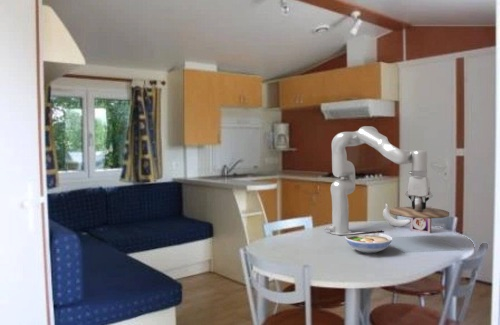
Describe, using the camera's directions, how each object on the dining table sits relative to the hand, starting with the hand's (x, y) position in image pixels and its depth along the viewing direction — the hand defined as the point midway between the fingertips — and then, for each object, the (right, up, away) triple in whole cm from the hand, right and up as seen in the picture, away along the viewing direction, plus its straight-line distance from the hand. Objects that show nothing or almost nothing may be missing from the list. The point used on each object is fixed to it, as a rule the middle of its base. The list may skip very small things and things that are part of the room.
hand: (418, 208), depth 224 cm
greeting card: (+14, -17, +30) cm, 37 cm away
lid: (0, -2, 0) cm, 2 cm away
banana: (+4, -16, +46) cm, 49 cm away
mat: (+1, -19, +1) cm, 19 cm away
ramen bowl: (-29, -20, -12) cm, 38 cm away
